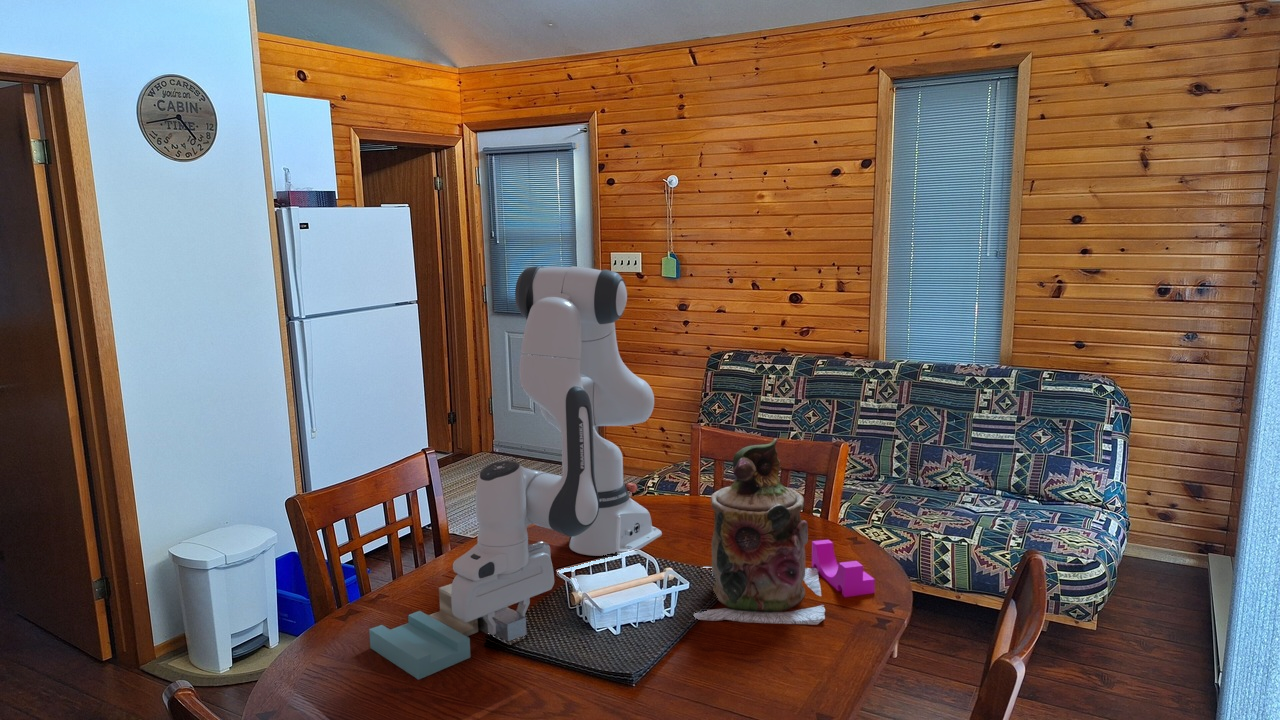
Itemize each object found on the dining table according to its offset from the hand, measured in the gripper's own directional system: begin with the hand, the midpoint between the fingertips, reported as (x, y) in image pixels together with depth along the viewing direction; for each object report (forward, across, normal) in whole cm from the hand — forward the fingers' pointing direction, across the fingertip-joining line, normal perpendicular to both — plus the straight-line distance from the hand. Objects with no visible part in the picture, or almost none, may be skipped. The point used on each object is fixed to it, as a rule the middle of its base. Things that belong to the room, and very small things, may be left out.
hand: (506, 627), depth 149 cm
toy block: (+2, -59, +33) cm, 67 cm away
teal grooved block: (+2, +14, -6) cm, 15 cm away
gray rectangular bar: (+2, 0, -8) cm, 8 cm away
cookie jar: (+2, -43, +24) cm, 49 cm away
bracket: (+2, 0, -11) cm, 11 cm away
